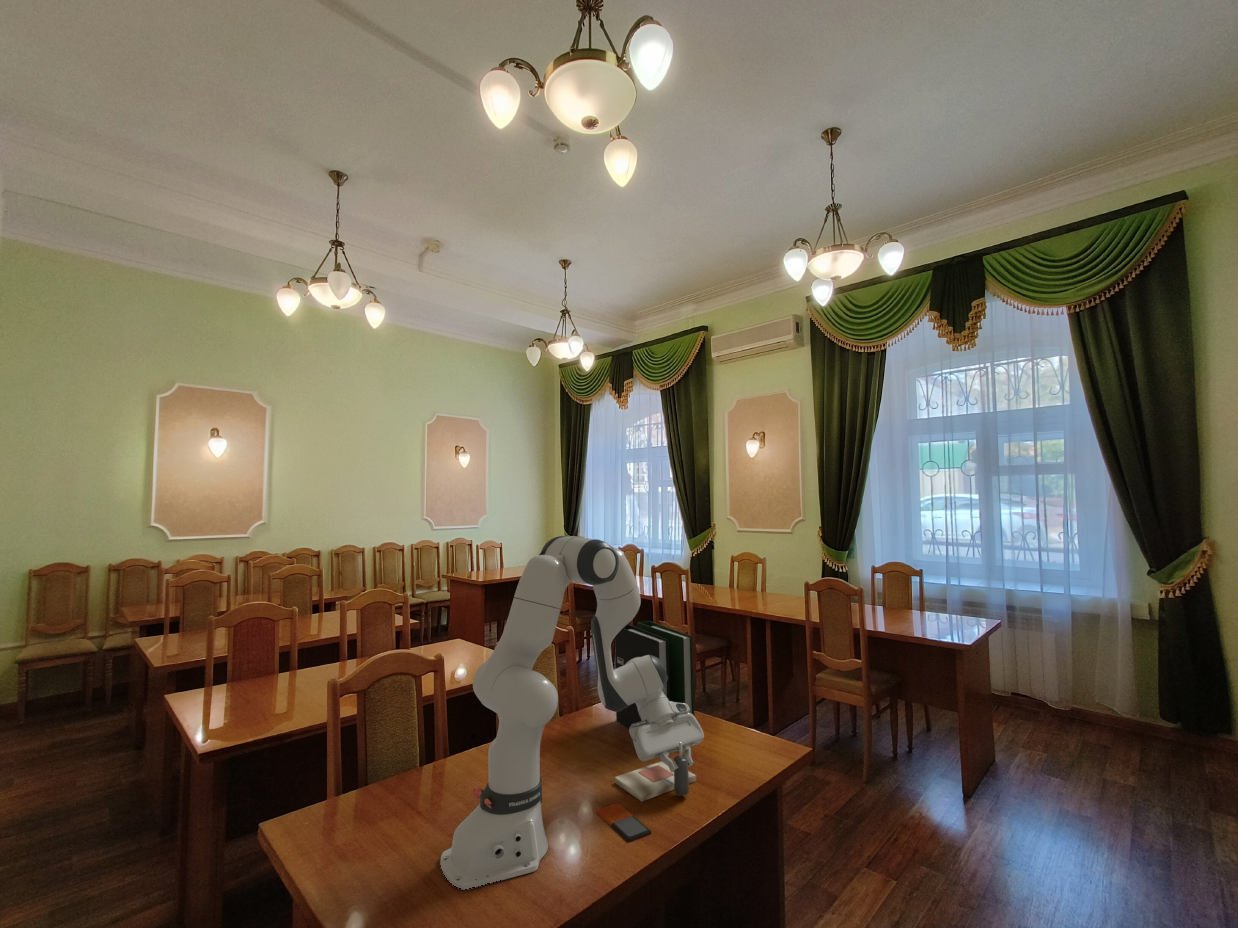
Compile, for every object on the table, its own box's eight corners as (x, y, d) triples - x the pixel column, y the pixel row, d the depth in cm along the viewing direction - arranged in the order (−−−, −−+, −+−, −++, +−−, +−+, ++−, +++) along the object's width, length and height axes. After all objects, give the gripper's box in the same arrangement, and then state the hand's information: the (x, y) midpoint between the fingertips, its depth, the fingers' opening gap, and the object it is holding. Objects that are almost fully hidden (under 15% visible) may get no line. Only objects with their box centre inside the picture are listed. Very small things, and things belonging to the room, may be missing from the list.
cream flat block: (641, 801, 145) (641, 794, 145) (614, 782, 155) (614, 776, 155) (696, 780, 155) (695, 774, 155) (667, 764, 165) (667, 758, 165)
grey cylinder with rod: (680, 796, 144) (679, 746, 145) (671, 790, 147) (670, 741, 148) (691, 792, 146) (690, 743, 147) (682, 786, 149) (681, 738, 150)
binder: (697, 740, 181) (694, 635, 183) (656, 750, 174) (654, 641, 176) (651, 712, 205) (649, 620, 207) (614, 721, 198) (612, 625, 200)
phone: (618, 801, 144) (652, 829, 131) (618, 806, 144) (652, 836, 131) (595, 808, 140) (628, 839, 128) (595, 814, 140) (628, 845, 127)
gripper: (631, 718, 148) (655, 772, 139) (692, 702, 160) (717, 751, 151) (621, 731, 151) (644, 784, 143) (681, 714, 163) (706, 763, 154)
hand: (682, 767), depth 147 cm, fingers closed on grey cylinder with rod, 4 cm apart
